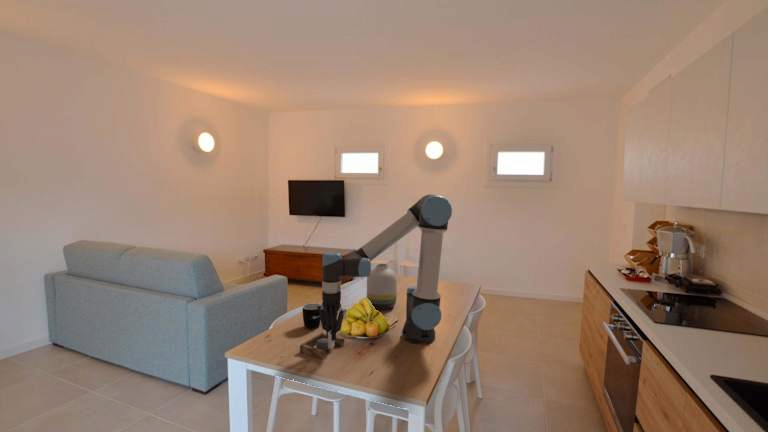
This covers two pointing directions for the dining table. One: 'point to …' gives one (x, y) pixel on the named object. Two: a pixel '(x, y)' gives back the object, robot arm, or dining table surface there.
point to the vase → (382, 287)
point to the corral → (310, 350)
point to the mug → (311, 316)
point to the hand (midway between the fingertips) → (331, 347)
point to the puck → (322, 344)
